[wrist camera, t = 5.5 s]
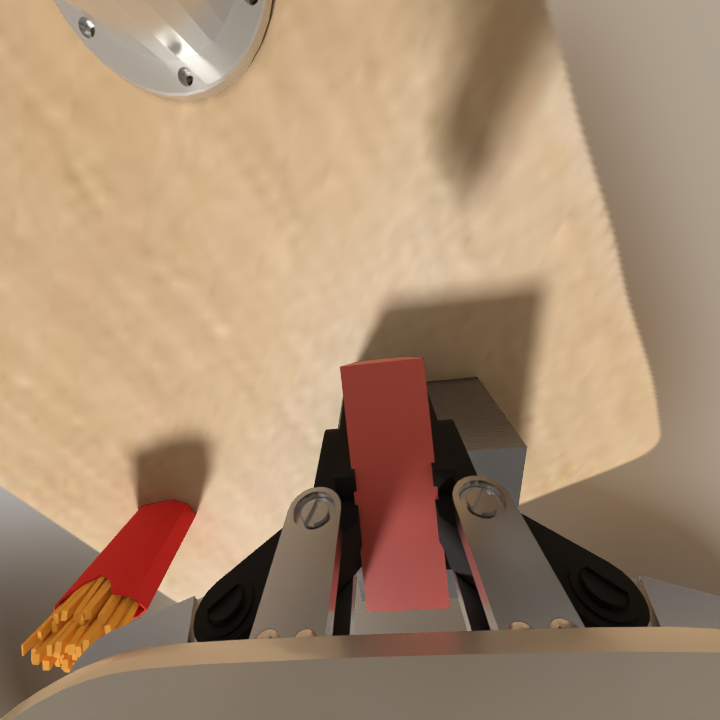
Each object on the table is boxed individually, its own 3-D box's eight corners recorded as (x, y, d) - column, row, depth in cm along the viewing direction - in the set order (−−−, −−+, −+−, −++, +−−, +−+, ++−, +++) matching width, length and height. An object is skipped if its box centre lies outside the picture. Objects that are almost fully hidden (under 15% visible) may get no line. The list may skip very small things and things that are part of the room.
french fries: (189, 495, 33) (90, 643, 22) (207, 520, 35) (124, 669, 23) (122, 508, 35) (-6, 654, 23) (142, 532, 36) (33, 678, 25)
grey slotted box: (344, 389, 27) (332, 460, 19) (477, 377, 26) (526, 446, 18) (364, 509, 33) (362, 600, 25) (470, 503, 32) (505, 596, 24)
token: (358, 361, 13) (340, 367, 7) (403, 356, 13) (423, 357, 7) (372, 494, 13) (366, 612, 7) (417, 490, 13) (450, 607, 7)
